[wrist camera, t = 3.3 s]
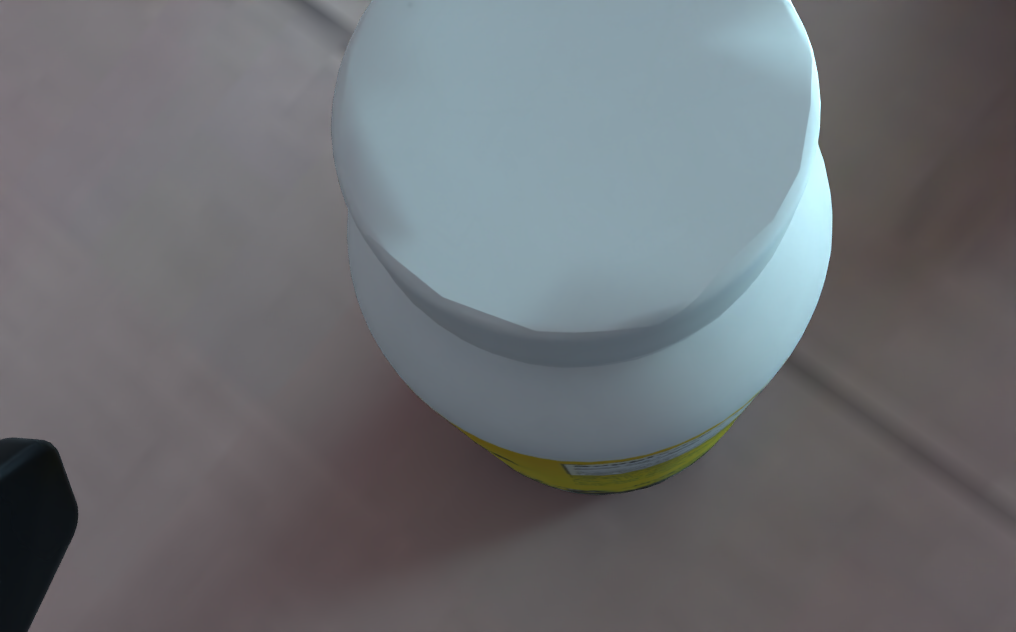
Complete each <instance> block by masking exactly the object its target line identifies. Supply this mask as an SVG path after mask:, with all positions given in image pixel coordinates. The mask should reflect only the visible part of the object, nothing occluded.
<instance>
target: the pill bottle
mask: <svg viewBox="0 0 1016 632" xmlns="http://www.w3.org/2000/svg"><path fill="white" fill-rule="evenodd" d="M820 109H821V100H820V90H819V81H818V72H817V68H816V63H815V58H814V54H813V49H812V46H811V44H810V41H809V38H808V36H807V33H806V30H805V28H804V26H803V24H802V22H801V20H800V18H799V16H798V14H797V12H796V10H795V8H794V6H793V4H792V3H791V1H790V0H372V2H371V3H370V5H369V6H368V8H367V9H366V10H365V12H364V14H363V15H362V17H361V19H360V21H359V23H358V25H357V27H356V29H355V31H354V33H353V35H352V37H351V39H350V41H349V43H348V45H347V48H346V51H345V54H344V57H343V59H342V62H341V65H340V68H339V72H338V77H337V82H336V87H335V92H334V97H333V106H332V118H331V136H332V145H333V156H334V162H335V166H336V171H337V176H338V181H339V184H340V187H341V191H342V194H343V197H344V200H345V203H346V205H347V207H348V221H347V243H348V256H349V264H350V271H351V277H352V281H353V285H354V289H355V293H356V297H357V300H358V303H359V305H360V308H361V311H362V314H363V316H364V318H365V320H366V323H367V325H368V327H369V330H370V332H371V334H372V336H373V337H374V339H375V341H376V342H377V344H378V346H379V347H380V349H381V351H382V352H383V354H384V356H385V357H386V359H387V360H388V361H389V363H390V364H391V365H392V367H393V368H394V369H395V371H396V372H397V373H398V374H399V376H400V377H401V378H402V379H403V381H404V382H405V383H406V384H407V385H408V387H409V388H410V389H411V390H412V391H413V392H414V393H415V394H416V395H417V396H418V397H419V398H420V399H422V400H423V401H424V402H425V403H426V404H427V405H428V406H430V407H431V408H432V409H433V410H434V411H435V412H437V413H438V414H439V415H441V416H442V417H443V418H445V419H446V420H447V421H449V422H450V423H451V424H452V425H454V426H455V427H456V428H458V429H459V430H460V431H462V432H463V433H464V434H466V435H467V436H468V437H469V438H471V439H472V440H473V441H474V442H475V443H477V444H479V445H480V446H482V447H483V448H485V449H486V450H488V451H489V452H490V453H492V454H493V455H494V456H496V457H497V458H499V459H500V460H501V461H503V462H504V463H505V464H507V465H508V466H509V467H511V468H512V469H514V470H515V471H517V472H519V473H520V474H522V475H524V476H526V477H528V478H531V479H533V480H535V481H537V482H540V483H542V484H545V485H547V486H550V487H553V488H557V489H560V490H564V491H568V492H574V493H580V494H592V495H605V494H618V493H624V492H630V491H635V490H639V489H644V488H648V487H650V486H653V485H656V484H659V483H661V482H663V481H665V480H666V479H668V478H670V477H672V476H674V475H676V474H678V473H680V472H681V471H683V470H684V469H686V468H687V467H689V466H690V465H692V464H693V463H694V462H695V461H697V460H698V459H699V458H700V457H702V456H703V455H704V454H705V453H706V452H708V451H709V450H710V449H711V448H712V447H713V446H714V445H715V444H716V443H717V442H718V440H719V439H720V438H721V437H722V436H723V435H724V434H725V433H726V432H727V431H728V429H729V428H730V427H731V426H732V424H733V423H734V421H735V420H736V419H737V418H738V417H739V416H740V415H741V413H742V412H743V411H744V410H745V409H746V408H747V407H748V405H749V404H750V403H751V402H752V401H753V399H754V398H755V397H756V396H757V395H758V394H759V393H761V391H762V390H763V389H764V388H765V387H766V386H767V384H768V383H769V382H770V381H771V380H772V378H773V377H774V376H775V374H776V373H777V372H778V371H779V370H780V369H781V367H782V366H783V365H784V363H785V362H786V360H787V359H788V358H789V356H790V355H791V353H792V352H793V350H794V348H795V347H796V345H797V344H798V342H799V340H800V339H801V337H802V335H803V333H804V331H805V329H806V327H807V325H808V323H809V321H810V319H811V317H812V315H813V312H814V310H815V308H816V305H817V303H818V300H819V297H820V294H821V291H822V288H823V284H824V281H825V277H826V273H827V268H828V264H829V259H830V254H831V242H832V204H831V194H830V188H829V183H828V178H827V173H826V169H825V164H824V160H823V157H822V154H821V151H820V148H819V146H818V137H819V130H820Z"/></svg>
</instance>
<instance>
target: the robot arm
mask: <svg viewBox="0 0 1016 632" xmlns="http://www.w3.org/2000/svg"><path fill="white" fill-rule="evenodd" d="M77 523H78V506H77V502H76V500H75V497H74V494H73V491H72V488H71V485H70V483H69V480H68V477H67V474H66V471H65V468H64V466H63V463H62V460H61V457H60V454H59V452H58V450H57V449H56V448H55V447H54V446H53V445H52V444H51V443H50V442H47V441H45V440H38V439H26V438H5V439H2V440H0V632H28V630H29V628H30V626H31V623H32V621H33V619H34V617H35V615H36V613H37V611H38V609H39V607H40V605H41V603H42V600H43V598H44V596H45V594H46V592H47V590H48V588H49V586H50V584H51V582H52V580H53V577H54V575H55V573H56V571H57V569H58V567H59V565H60V563H61V561H62V559H63V557H64V555H65V552H66V550H67V548H68V546H69V544H70V542H71V540H72V538H73V536H74V533H75V530H76V527H77Z"/></svg>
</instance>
